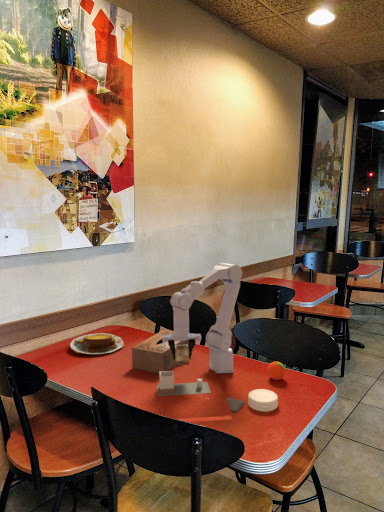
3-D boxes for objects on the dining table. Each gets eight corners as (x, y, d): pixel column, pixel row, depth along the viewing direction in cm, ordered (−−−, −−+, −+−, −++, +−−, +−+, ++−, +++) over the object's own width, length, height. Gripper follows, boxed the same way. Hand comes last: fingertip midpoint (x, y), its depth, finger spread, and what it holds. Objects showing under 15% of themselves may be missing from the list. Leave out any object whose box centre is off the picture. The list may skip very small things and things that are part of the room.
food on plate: (113, 335, 210) (113, 323, 210) (132, 350, 189) (131, 337, 188) (64, 344, 197) (63, 331, 197) (77, 361, 176) (77, 347, 175)
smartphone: (206, 392, 145) (245, 400, 138) (206, 394, 146) (245, 403, 138) (196, 401, 139) (236, 411, 132) (196, 404, 139) (236, 413, 132)
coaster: (284, 406, 136) (284, 397, 135) (262, 415, 130) (262, 405, 130) (263, 395, 144) (263, 385, 144) (242, 403, 139) (242, 393, 138)
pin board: (207, 384, 153) (207, 374, 152) (211, 395, 144) (210, 384, 143) (156, 387, 151) (156, 377, 150) (157, 398, 142) (157, 388, 141)
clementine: (291, 380, 156) (291, 362, 155) (280, 385, 151) (281, 367, 150) (274, 373, 161) (274, 356, 160) (263, 379, 157) (263, 361, 156)
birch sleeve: (187, 359, 156) (187, 344, 155) (189, 364, 151) (188, 349, 150) (174, 360, 156) (174, 345, 155) (175, 365, 151) (175, 349, 150)
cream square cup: (173, 386, 149) (173, 370, 148) (174, 392, 144) (173, 376, 143) (159, 386, 149) (159, 371, 148) (160, 393, 144) (159, 377, 143)
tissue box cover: (162, 377, 160) (162, 353, 158) (132, 371, 166) (131, 347, 165) (191, 355, 182) (191, 334, 181) (164, 350, 189) (163, 329, 187)
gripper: (162, 328, 147) (163, 363, 149) (201, 326, 148) (202, 361, 150) (161, 322, 154) (162, 356, 156) (199, 321, 155) (199, 354, 157)
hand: (181, 358), depth 153 cm, fingers closed on birch sleeve, 5 cm apart
